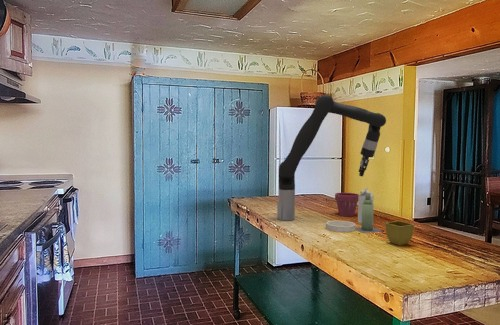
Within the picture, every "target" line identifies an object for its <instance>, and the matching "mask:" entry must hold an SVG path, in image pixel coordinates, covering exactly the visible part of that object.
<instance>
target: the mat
mask: <svg viewBox="0 0 500 325" xmlns="http://www.w3.org/2000/svg"><path fill="white" fill-rule="evenodd" d="M355 231H358V232H360V233H363V234H366V233H367V234H370V233H382V232H384V231H383V230H381V229H378V228H375V227H373V230H372V231H364V230H362V229H361V226H358V227H357V226H356V229H355Z"/></svg>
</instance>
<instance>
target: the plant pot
mask: <svg viewBox="0 0 500 325" xmlns="http://www.w3.org/2000/svg"><path fill="white" fill-rule="evenodd" d="M334 194H335V195H334V200H335V201H336V205H337V211H338V215H339V216H341V217H354V216H355V214H356V209H357V207H358V196H359V195H360V194H359V193H355V192H336V193H334Z"/></svg>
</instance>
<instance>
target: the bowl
mask: <svg viewBox="0 0 500 325" xmlns="http://www.w3.org/2000/svg"><path fill="white" fill-rule="evenodd" d="M356 225H357V224H356V223H354V222H352V221H349V220H348V221H347V220H329V221H326V223H325V228H326V230H328V231H330V232H331V231H332V232H336V233H350V232H351V233H352V232H355V231H356V227H357V226H356Z"/></svg>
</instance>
